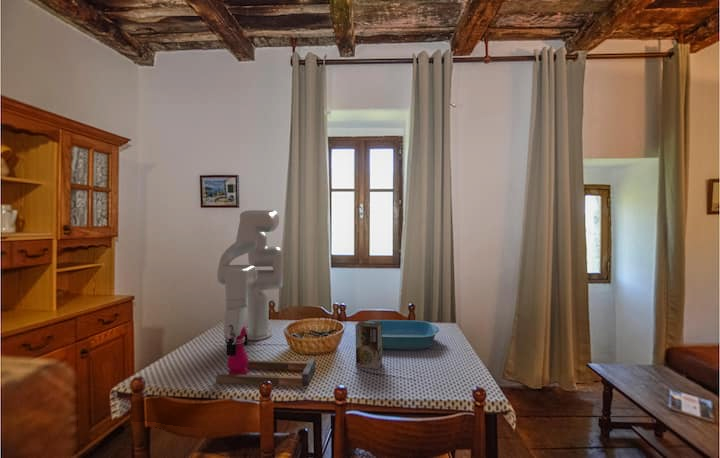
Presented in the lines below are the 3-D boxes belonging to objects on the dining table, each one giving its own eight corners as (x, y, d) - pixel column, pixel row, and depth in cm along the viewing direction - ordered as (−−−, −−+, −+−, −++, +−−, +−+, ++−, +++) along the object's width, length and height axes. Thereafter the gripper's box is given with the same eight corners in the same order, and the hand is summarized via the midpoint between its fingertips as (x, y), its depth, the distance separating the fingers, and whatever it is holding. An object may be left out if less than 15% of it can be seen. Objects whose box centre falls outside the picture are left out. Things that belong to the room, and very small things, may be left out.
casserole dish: (354, 351, 143) (354, 334, 143) (359, 332, 166) (358, 318, 165) (442, 353, 141) (443, 336, 140) (435, 334, 163) (435, 320, 163)
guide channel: (232, 366, 129) (232, 355, 129) (315, 368, 127) (315, 357, 127) (216, 383, 116) (215, 371, 116) (308, 385, 114) (307, 374, 114)
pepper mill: (241, 380, 118) (240, 323, 117) (223, 378, 119) (222, 322, 118) (252, 371, 125) (251, 317, 124) (234, 369, 126) (233, 316, 126)
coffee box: (382, 362, 132) (382, 321, 131) (378, 369, 126) (378, 327, 125) (360, 359, 135) (360, 319, 134) (355, 366, 128) (355, 324, 128)
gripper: (236, 297, 130) (237, 341, 130) (214, 308, 113) (215, 359, 113) (256, 297, 129) (256, 341, 130) (236, 309, 112) (237, 360, 112)
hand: (237, 349), depth 121 cm, fingers open, 9 cm apart
